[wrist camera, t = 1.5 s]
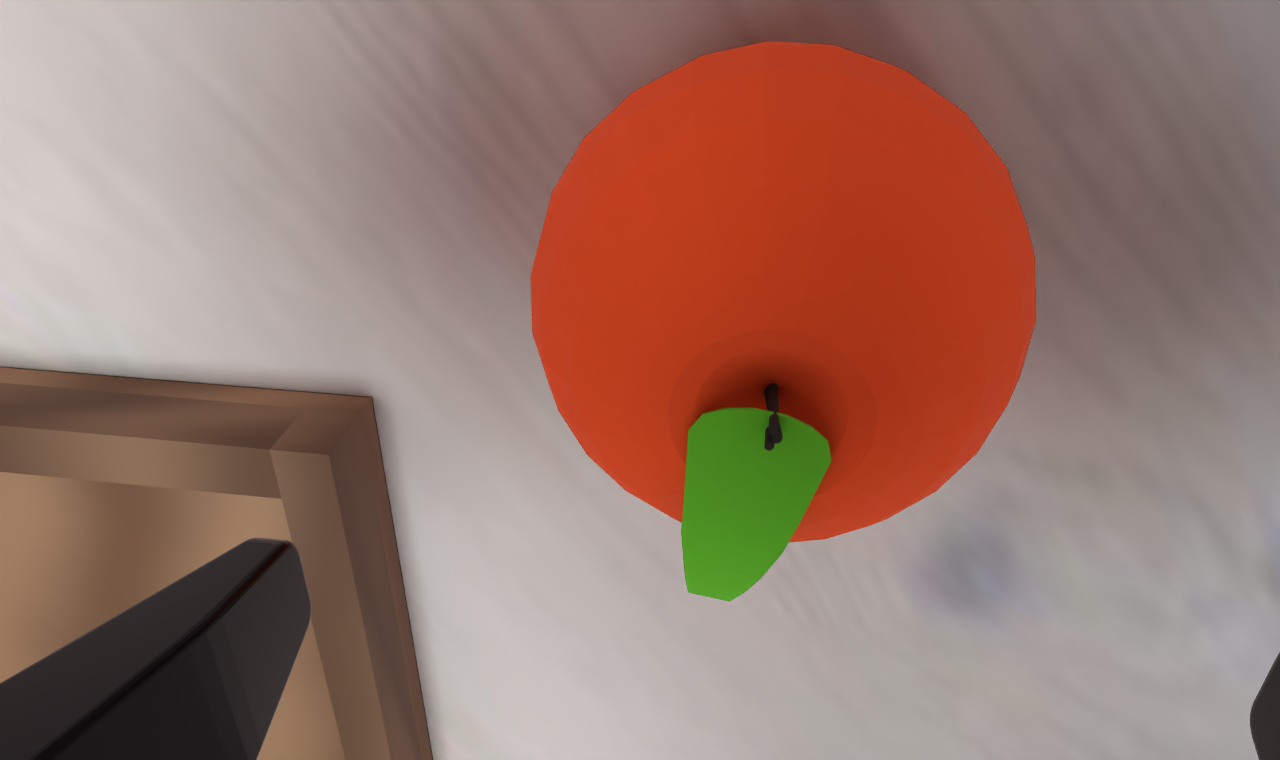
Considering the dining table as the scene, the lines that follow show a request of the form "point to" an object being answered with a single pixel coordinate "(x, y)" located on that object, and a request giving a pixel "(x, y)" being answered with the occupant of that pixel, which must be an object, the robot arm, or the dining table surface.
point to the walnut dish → (210, 534)
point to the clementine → (782, 298)
